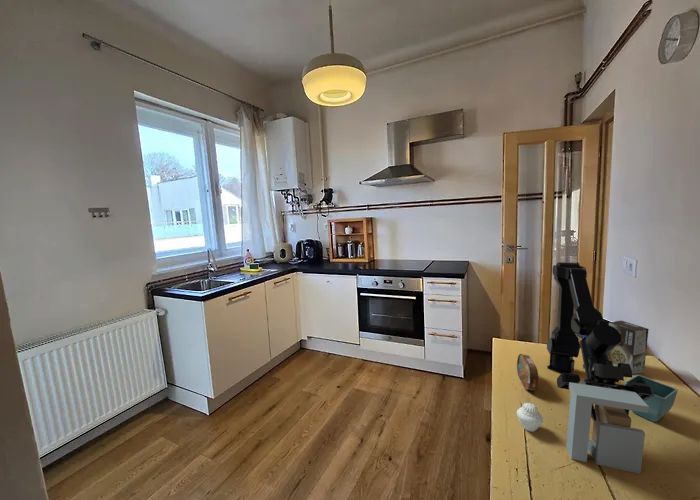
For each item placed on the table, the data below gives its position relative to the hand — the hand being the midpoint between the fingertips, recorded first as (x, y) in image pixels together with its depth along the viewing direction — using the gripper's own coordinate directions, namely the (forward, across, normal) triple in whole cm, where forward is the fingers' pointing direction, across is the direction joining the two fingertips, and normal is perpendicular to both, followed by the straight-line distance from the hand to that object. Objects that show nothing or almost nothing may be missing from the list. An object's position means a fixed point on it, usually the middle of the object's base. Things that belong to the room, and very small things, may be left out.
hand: (609, 423), depth 74 cm
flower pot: (-8, +16, +19) cm, 26 cm away
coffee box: (-29, +22, +40) cm, 54 cm away
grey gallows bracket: (+8, -2, +3) cm, 8 cm away
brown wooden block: (+6, 0, +5) cm, 7 cm away
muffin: (+4, -16, +7) cm, 18 cm away
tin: (-13, -13, +24) cm, 30 cm away
